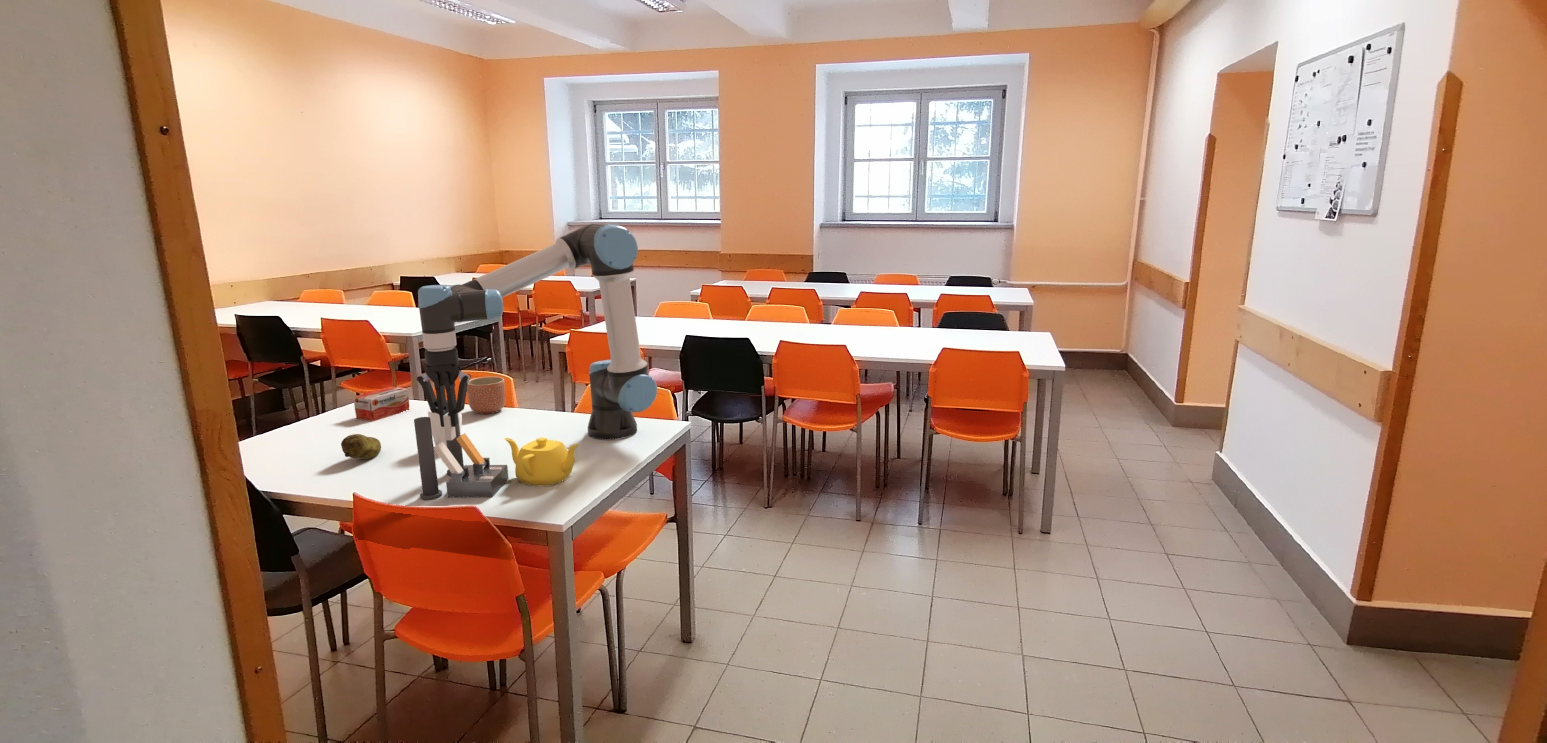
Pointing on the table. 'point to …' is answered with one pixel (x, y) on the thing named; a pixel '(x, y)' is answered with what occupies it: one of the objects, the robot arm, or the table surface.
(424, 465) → the cable post
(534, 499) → the table surface
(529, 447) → the teapot
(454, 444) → the post
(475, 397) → the planter
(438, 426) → the cup
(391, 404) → the medicine box
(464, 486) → the breaker panel
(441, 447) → the ivory paddle
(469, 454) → the orange paddle
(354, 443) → the potato
